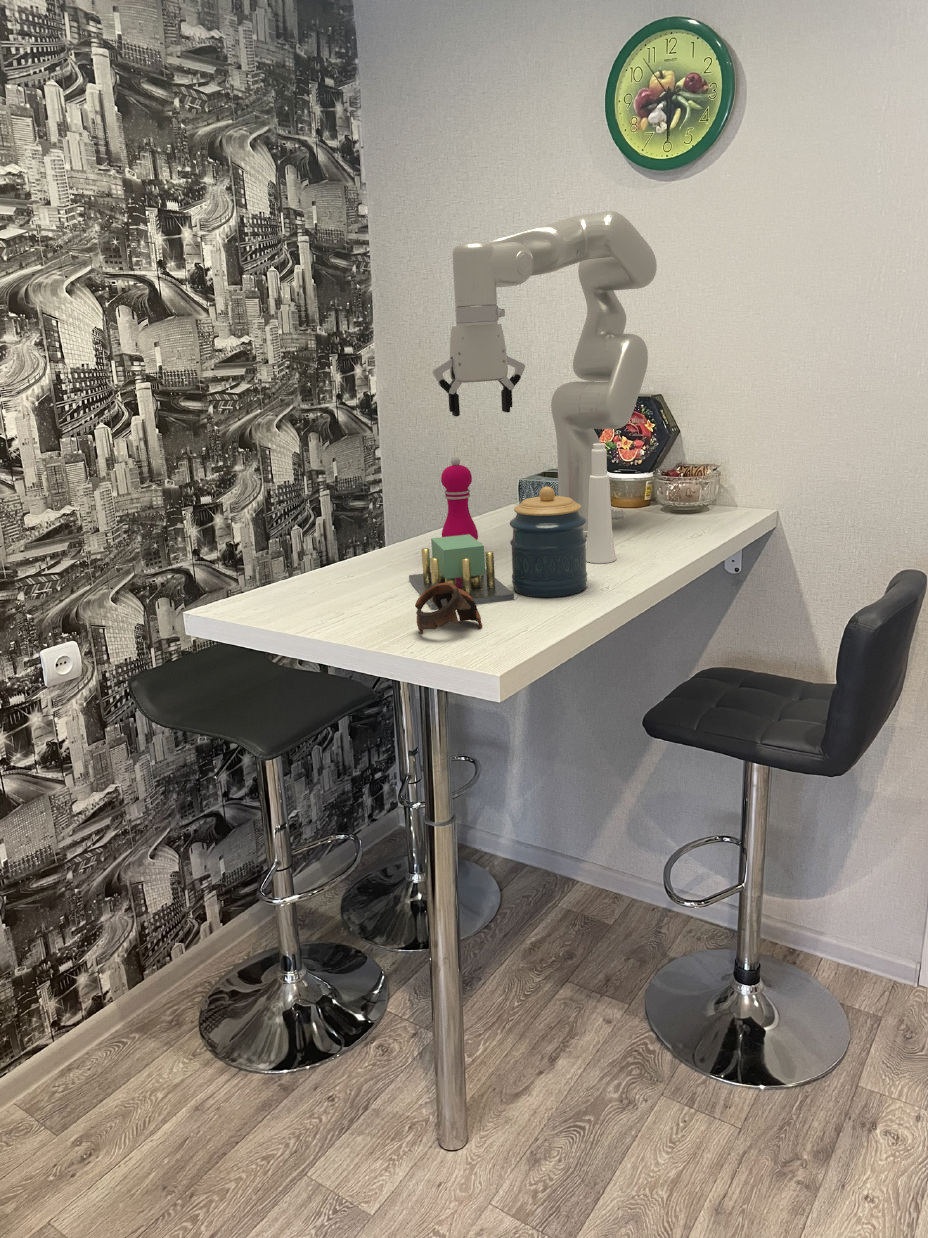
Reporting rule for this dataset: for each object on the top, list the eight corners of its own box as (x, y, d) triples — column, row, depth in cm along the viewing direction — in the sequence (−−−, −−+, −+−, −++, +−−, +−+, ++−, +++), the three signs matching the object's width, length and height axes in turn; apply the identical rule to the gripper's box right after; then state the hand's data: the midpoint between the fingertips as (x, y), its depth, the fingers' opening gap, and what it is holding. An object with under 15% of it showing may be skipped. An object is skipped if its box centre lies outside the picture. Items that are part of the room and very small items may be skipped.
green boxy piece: (470, 561, 168) (469, 534, 167) (485, 574, 159) (484, 545, 157) (433, 565, 167) (431, 538, 165) (445, 579, 157) (443, 550, 156)
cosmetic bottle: (621, 561, 176) (620, 444, 170) (591, 565, 175) (589, 446, 168) (608, 554, 182) (607, 440, 175) (579, 558, 181) (577, 443, 174)
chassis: (482, 572, 174) (481, 535, 172) (514, 599, 156) (512, 558, 154) (409, 580, 171) (406, 543, 169) (432, 609, 153) (429, 568, 151)
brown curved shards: (494, 636, 140) (470, 596, 135) (439, 667, 140) (414, 629, 136) (472, 596, 150) (450, 559, 145) (421, 626, 150) (397, 589, 145)
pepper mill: (475, 562, 182) (469, 459, 176) (439, 562, 184) (432, 460, 178) (482, 553, 189) (477, 453, 183) (447, 553, 190) (441, 454, 184)
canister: (541, 603, 153) (538, 496, 148) (497, 587, 164) (493, 487, 158) (603, 588, 159) (602, 485, 154) (556, 574, 170) (554, 477, 165)
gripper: (516, 315, 173) (519, 409, 178) (425, 320, 170) (431, 416, 175) (528, 314, 166) (531, 411, 172) (434, 319, 163) (440, 419, 168)
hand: (481, 413), depth 173 cm, fingers open, 9 cm apart
